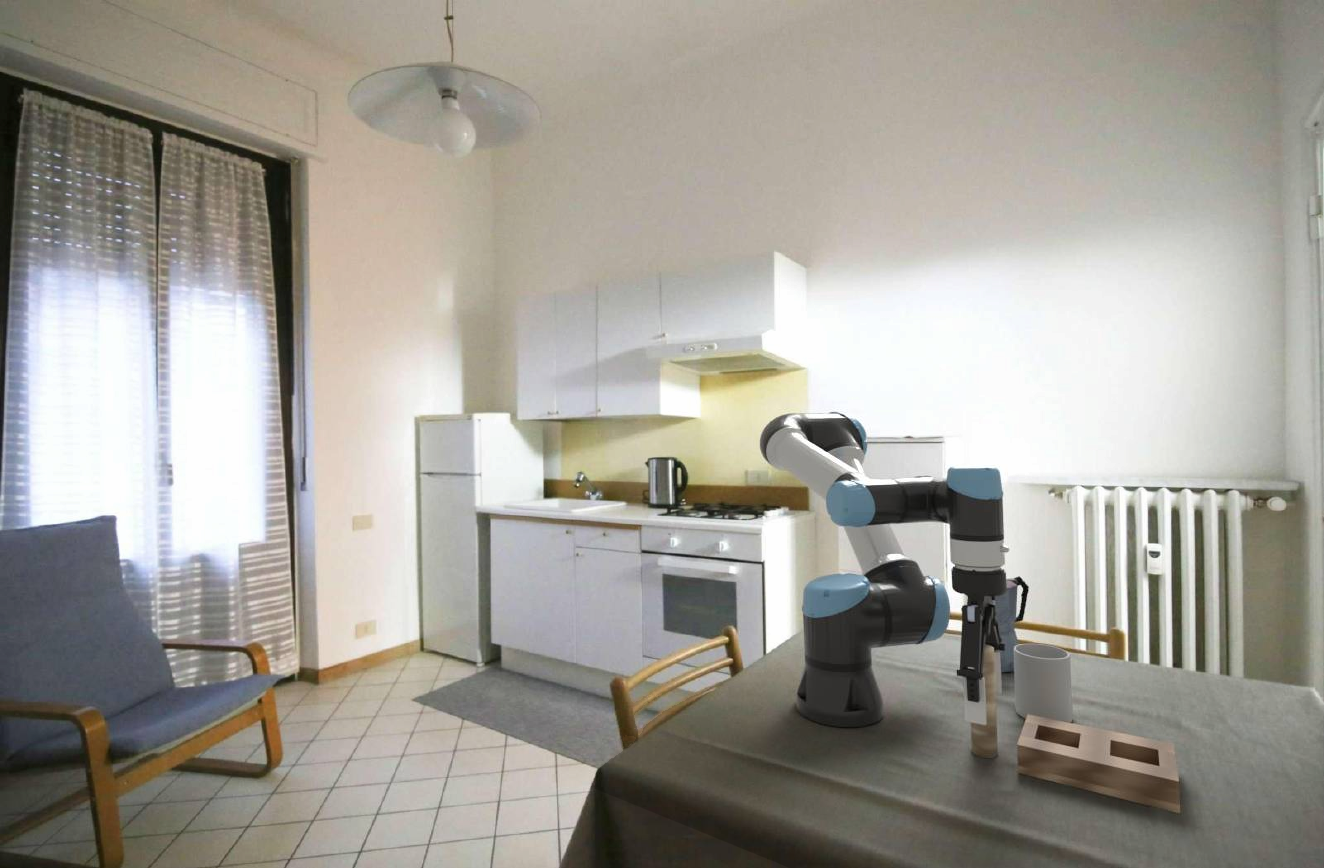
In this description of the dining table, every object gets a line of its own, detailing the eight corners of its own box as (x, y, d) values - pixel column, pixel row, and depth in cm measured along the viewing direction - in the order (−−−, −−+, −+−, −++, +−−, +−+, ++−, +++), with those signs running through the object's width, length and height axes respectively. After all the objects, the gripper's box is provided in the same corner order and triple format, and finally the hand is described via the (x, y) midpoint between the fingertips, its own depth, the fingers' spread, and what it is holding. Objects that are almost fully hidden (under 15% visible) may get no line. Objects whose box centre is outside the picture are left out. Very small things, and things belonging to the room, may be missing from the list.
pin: (969, 753, 96) (965, 648, 96) (973, 744, 99) (970, 641, 99) (995, 760, 94) (991, 652, 94) (999, 750, 97) (995, 645, 97)
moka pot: (953, 662, 135) (949, 569, 135) (1009, 653, 140) (1006, 563, 140) (988, 678, 126) (984, 577, 126) (1047, 668, 130) (1044, 570, 131)
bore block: (1018, 772, 90) (1017, 744, 90) (1028, 739, 100) (1027, 714, 100) (1180, 813, 80) (1179, 781, 80) (1174, 772, 89) (1173, 743, 89)
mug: (1084, 725, 104) (1082, 658, 105) (1032, 726, 105) (1030, 660, 105) (1042, 696, 116) (1040, 636, 117) (995, 697, 117) (993, 637, 117)
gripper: (991, 583, 85) (998, 744, 84) (1017, 556, 105) (1023, 685, 104) (931, 578, 89) (938, 730, 88) (967, 552, 109) (973, 676, 109)
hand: (984, 706), depth 96 cm, fingers open, 13 cm apart
